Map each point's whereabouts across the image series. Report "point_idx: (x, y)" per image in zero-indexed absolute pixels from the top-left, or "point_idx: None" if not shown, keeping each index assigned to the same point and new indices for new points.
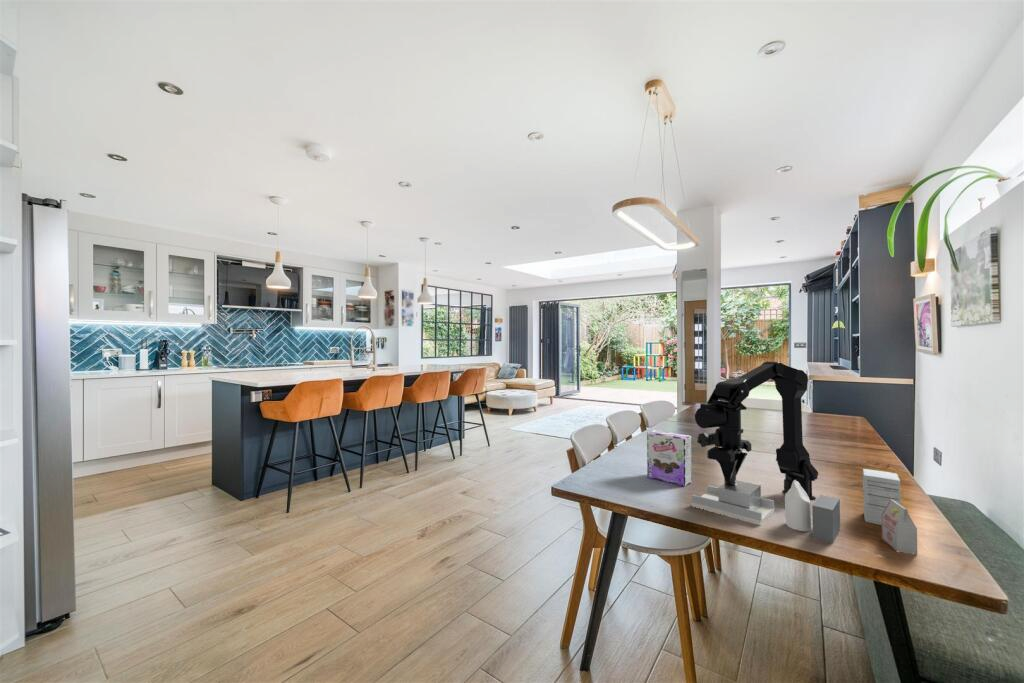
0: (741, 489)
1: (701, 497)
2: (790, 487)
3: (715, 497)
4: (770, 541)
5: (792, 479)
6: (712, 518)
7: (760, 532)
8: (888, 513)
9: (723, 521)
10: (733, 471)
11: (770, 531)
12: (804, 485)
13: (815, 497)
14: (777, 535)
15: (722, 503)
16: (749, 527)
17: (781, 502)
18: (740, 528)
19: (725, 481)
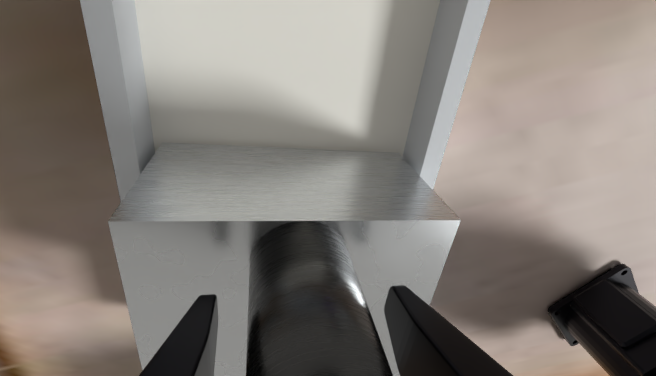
0: (227, 345)
1: (93, 17)
2: (601, 327)
3: (355, 65)
4: (27, 368)
5: (634, 367)
6: (20, 131)
7: (84, 328)
8: None
9: (43, 191)
10: None
11: (135, 343)
12: (606, 370)
13: (573, 345)
14: (118, 364)
15: (120, 195)
16: (96, 290)
17: (496, 287)
18: (39, 271)
19: (260, 260)
